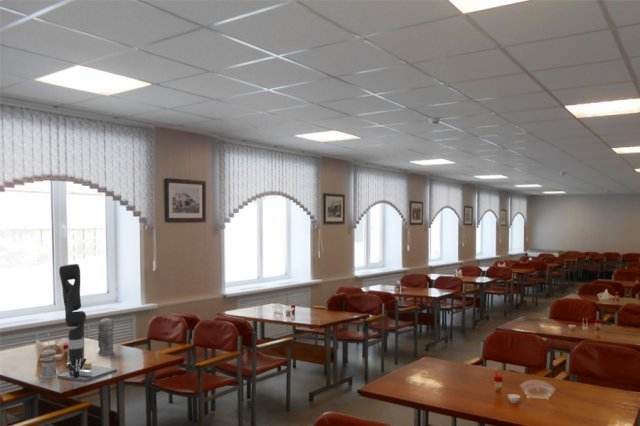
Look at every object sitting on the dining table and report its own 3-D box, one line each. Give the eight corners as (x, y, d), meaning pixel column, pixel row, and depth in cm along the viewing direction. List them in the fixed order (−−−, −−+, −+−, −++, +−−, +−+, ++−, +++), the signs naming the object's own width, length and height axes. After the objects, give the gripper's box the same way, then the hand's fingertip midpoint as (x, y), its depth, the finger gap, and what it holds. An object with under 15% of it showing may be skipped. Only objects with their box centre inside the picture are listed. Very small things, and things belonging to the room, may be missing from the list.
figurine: (110, 350, 361) (109, 315, 362) (115, 354, 349) (115, 318, 350) (95, 353, 355) (95, 317, 356) (100, 356, 344) (100, 319, 344)
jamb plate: (57, 377, 294) (57, 370, 294) (90, 367, 315) (89, 360, 315) (85, 381, 285) (85, 373, 285) (117, 371, 306) (116, 363, 306)
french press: (40, 379, 293) (40, 335, 294) (38, 374, 302) (37, 332, 303) (59, 375, 299) (59, 333, 299) (56, 371, 308) (55, 330, 309)
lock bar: (67, 373, 295) (67, 369, 295) (73, 372, 299) (73, 368, 299) (87, 376, 288) (86, 372, 288) (92, 374, 292) (92, 370, 292)
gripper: (80, 343, 293) (80, 373, 293) (61, 349, 281) (61, 380, 281) (90, 344, 291) (90, 374, 290) (71, 350, 278) (71, 381, 278)
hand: (76, 377), depth 285 cm, fingers closed
